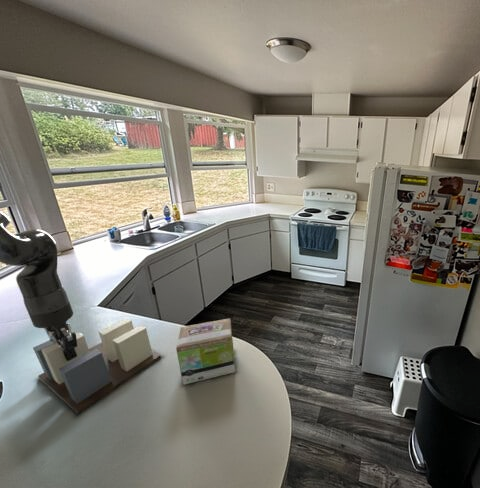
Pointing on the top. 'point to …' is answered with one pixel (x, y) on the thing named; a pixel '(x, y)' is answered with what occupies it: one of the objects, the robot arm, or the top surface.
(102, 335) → the cream book
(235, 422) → the top surface
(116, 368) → the shelf board
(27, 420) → the top surface
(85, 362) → the grey book
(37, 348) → the grey book
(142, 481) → the top surface
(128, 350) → the cream book
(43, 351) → the cream book
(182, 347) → the tea box
